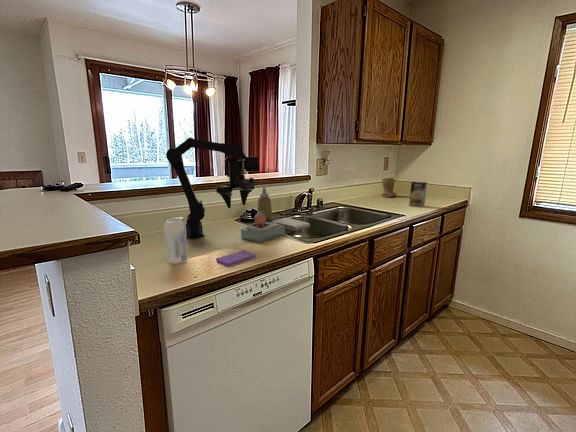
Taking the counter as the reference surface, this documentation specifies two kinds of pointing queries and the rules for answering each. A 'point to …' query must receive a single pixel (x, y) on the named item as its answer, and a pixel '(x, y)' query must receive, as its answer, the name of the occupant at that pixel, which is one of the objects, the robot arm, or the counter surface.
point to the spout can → (260, 220)
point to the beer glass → (176, 239)
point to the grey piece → (262, 232)
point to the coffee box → (418, 194)
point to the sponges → (235, 258)
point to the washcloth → (292, 224)
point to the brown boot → (388, 187)
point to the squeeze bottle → (265, 205)
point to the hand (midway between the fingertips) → (236, 206)
